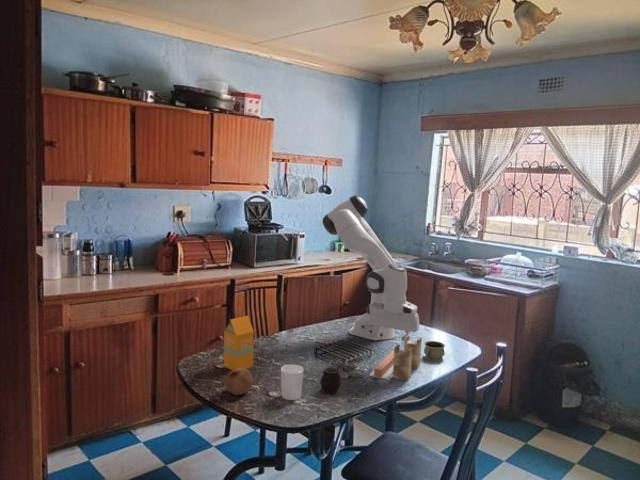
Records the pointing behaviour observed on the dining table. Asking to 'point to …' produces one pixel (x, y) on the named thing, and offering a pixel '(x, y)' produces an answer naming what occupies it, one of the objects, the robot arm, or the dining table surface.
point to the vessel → (434, 350)
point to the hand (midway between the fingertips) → (392, 338)
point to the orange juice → (238, 343)
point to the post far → (414, 350)
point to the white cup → (291, 381)
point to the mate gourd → (330, 380)
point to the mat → (384, 374)
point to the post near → (402, 363)
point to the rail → (384, 365)
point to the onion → (239, 381)
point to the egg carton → (346, 367)
